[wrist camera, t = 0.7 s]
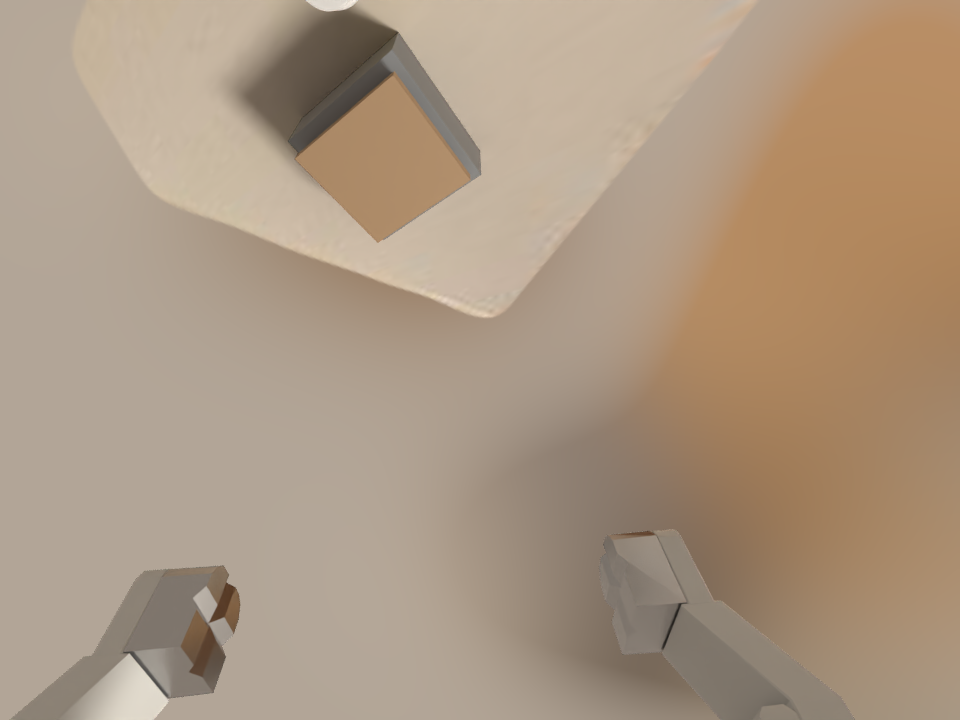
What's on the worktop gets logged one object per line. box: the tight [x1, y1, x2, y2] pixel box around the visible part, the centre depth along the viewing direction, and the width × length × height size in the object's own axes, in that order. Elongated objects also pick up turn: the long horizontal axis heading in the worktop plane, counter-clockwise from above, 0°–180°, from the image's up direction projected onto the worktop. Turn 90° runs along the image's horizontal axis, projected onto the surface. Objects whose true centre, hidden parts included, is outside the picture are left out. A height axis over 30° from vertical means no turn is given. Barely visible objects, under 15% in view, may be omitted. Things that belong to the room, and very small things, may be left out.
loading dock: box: [288, 32, 481, 242], centre depth 43 cm, size 12×12×7 cm
